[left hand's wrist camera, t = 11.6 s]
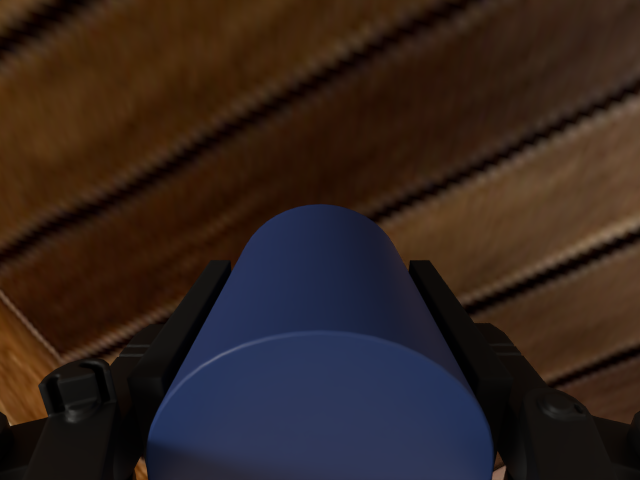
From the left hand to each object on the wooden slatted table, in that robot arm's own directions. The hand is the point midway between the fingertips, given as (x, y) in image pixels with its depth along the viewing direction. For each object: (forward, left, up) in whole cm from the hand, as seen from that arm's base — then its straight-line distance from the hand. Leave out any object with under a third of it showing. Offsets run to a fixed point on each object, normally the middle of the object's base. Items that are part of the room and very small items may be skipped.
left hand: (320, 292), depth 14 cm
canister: (0, 0, -1) cm, 1 cm away
